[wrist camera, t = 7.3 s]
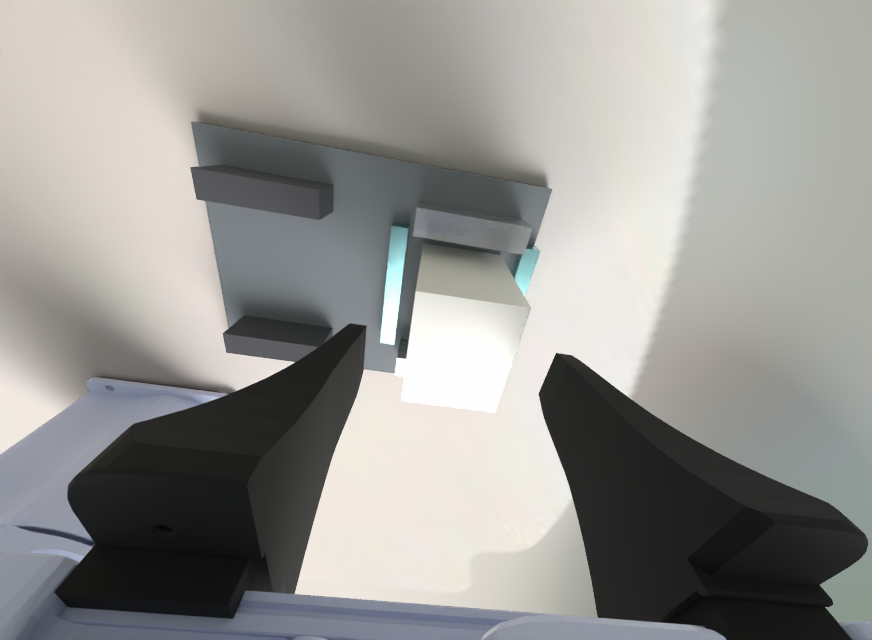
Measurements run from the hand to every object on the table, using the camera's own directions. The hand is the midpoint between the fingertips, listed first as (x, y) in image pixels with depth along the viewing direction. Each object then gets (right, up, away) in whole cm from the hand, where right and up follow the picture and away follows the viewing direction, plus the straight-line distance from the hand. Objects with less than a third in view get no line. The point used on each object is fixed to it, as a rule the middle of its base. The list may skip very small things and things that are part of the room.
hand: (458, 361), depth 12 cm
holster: (-9, +4, +5) cm, 11 cm away
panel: (-4, +4, +6) cm, 8 cm away
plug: (0, +3, +5) cm, 6 cm away
